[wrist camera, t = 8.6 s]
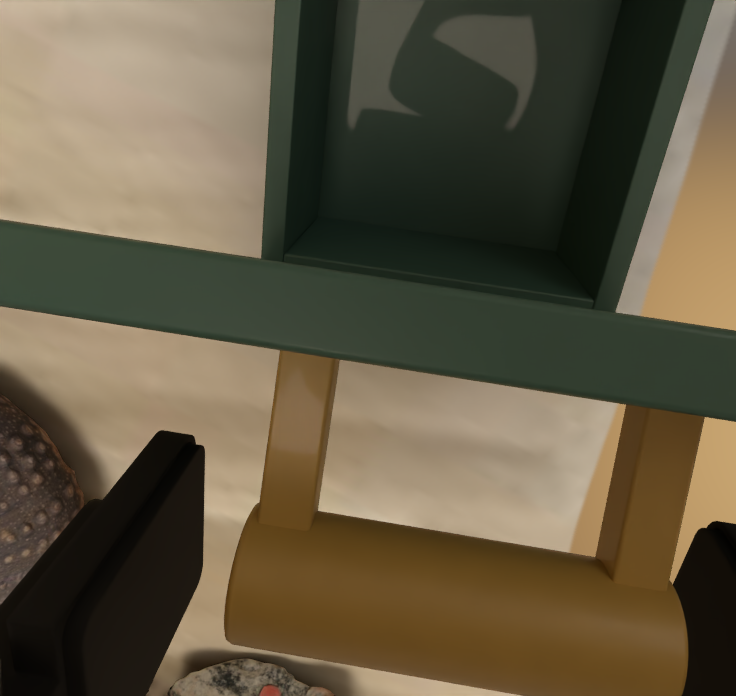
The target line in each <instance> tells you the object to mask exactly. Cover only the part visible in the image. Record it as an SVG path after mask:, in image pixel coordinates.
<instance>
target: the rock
mask: <svg viewBox="0 0 736 696" xmlns="http://www.w3.org/2000/svg"><path fill="white" fill-rule="evenodd" d="M168 696H335V695H333V693H332V692H331V691H330V690H329V689H325V688H322V687H309V686H307V685H306V684H304V683H302V682H299V681H297V680H295V678H294V676H293V675H292V674H289V673H287V671H286V669H285V668H284V667H281V666H278V665H274V664H270V663H262V662H259V661H256V660H252V659H248V658H244V659H236V660H231V661H227V662H224V663H220V664H217V665H214V666H210V667H207V668H204V669H203V670H201V671H197V672H192V673H190V674H188V675H187V676H186V677H184V678H182V679H179V680H178V681H177V682H176V683H175V684H174V685H173V686H172V687H171V688H170V690H169V692H168Z"/></svg>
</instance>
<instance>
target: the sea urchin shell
mask: <svg viewBox="0 0 736 696" xmlns="http://www.w3.org/2000/svg"><path fill="white" fill-rule="evenodd" d="M83 506H84V498H83V492H82V491H81V489H80V488H79V486H78V484H77V481H76V478H75V471H73V470H72V469H71V468H70V467H68V466H67V465H66V464H65V463H64V461H63V460H62V458H61V456H60V454H59V452H58V449H57V447H56V446H55V445H54V444H53V443H52V441H51V440H50V439H49V437H48V435H47V433H46V432H45V431H44V430H43V429H41V428H40V427H39V426H38V425H37V423H36V422H35V421H34V420H33V419H32V418H30V417H29V416H27V415H26V414H25V413H24V412H22V411H21V410H20V409H19V408H18V407H17V406H15V405H14V404H13V403H12V402H11V401H10V400H9V399H8V398H6V397H4V396H2V395H0V605H1V604H2V603H3V601H4V600H5V599H6V598H7V597H8V595H9V594H10V593H11V592H12V591H13V589H14V588H15V587H16V586H17V585H18V583H19V582H20V581H21V580H22V579H23V578H24V576H25V575H26V574H27V573H28V572H29V570H30V569H31V568H32V567H33V566H34V564H35V563H36V562H37V561H38V560H39V559H40V557H41V556H42V555H43V554H44V553H45V551H46V550H47V549H48V548H49V547H50V545H51V544H52V543H53V542H54V541H55V539H56V538H57V537H58V536H59V535H60V534H61V532H62V531H63V530H64V529H65V528H66V526H67V525H68V524H69V523H70V522H71V520H72V519H73V518H74V517H75V516H76V515H77V513H78V512H79V511H80V510H81V509H82V507H83Z"/></svg>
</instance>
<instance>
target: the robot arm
mask: <svg viewBox="0 0 736 696" xmlns="http://www.w3.org/2000/svg"><path fill="white" fill-rule="evenodd" d="M204 475H205V449H204V446H202V445H196V442H195V438H194V436H193V435H188V434H182V433H176V432H170V431H164V430H161V431H159V432H157V433H156V434H155V436H154V437H153V438H152V439H151V441H150V442H149V443H148V444H147V446H146V447H145V448H144V449H143V451H142V452H141V453H140V454H139V455H138V457H137V458H136V459H135V460H134V462H133V463H132V464H131V465H130V467H129V468H128V469H127V470H126V472H125V473H124V474H123V475H122V477H121V478H120V479H119V480H118V481H117V483H116V484H115V485H114V486H113V488H112V489H111V490H110V491H109V493H108V494H107V495H106V496H105V498H104V499H103V500H99V499H94V500H91V501H89V502H88V503H87V504H86V505H85V506H83V507H82V509H81V510H80V511H79V512H78V513H77V515H76V516H75V517H74V518H73V519H72V520H71V522H70V523H69V524H68V525H67V526H66V528H65V529H64V530H63V531H62V532H61V534H60V535H59V536H58V537H57V538H56V539H55V541H54V542H53V543H52V544H51V545H50V547H49V548H48V549H47V550H46V551H45V553H44V554H43V555H42V556H41V557H40V559H39V560H38V561H37V562H36V563H35V564H34V566H33V567H32V568H31V569H30V570H29V572H28V573H27V574H26V575H25V576H24V578H23V579H22V580H21V581H20V582H19V583H18V585H17V586H16V587H15V588H14V589H13V591H12V592H11V593H10V594H9V595H8V597H7V598H6V599H5V600H4V601H3V603H2V604H1V605H0V696H146V694H147V691H148V689H149V687H150V685H151V683H152V681H153V679H154V677H155V674H156V672H157V670H158V668H159V666H160V664H161V662H162V660H163V658H164V655H165V653H166V651H167V649H168V647H169V645H170V643H171V641H172V639H173V636H174V634H175V632H176V630H177V628H178V626H179V624H180V622H181V620H182V617H183V615H184V613H185V611H186V609H187V607H188V605H189V603H190V600H191V598H192V596H193V594H194V592H195V590H196V588H197V585H198V583H199V580H200V577H201V573H202V567H203V533H204ZM673 587H674V588H675V590H676V592H677V595H678V597H679V600H680V602H681V606H682V609H683V613H684V617H685V622H686V628H687V637H688V669H687V677H686V682H685V686H684V690H683V693H682V696H736V524H731V523H725V522H719V521H715V522H712V523H710V524H709V525H708V527H707V528H701V529H699V530H698V531H697V533H696V534H695V536H694V539H693V541H692V543H691V545H690V548H689V550H688V552H687V554H686V557H685V559H684V561H683V563H682V566H681V568H680V570H679V572H678V574H677V577H676V579H675V581H674V583H673Z"/></svg>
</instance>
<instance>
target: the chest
mask: <svg viewBox="0 0 736 696" xmlns="http://www.w3.org/2000/svg"><path fill="white" fill-rule="evenodd" d="M713 2H714V0H275V16H274V35H273V53H272V71H271V90H270V108H269V126H268V144H267V163H266V181H265V199H264V217H263V236H262V254H261V259H265V260H272V261H279V262H285V263H292V264H298V265H305V266H312V267H318V268H325V269H331V270H338V271H345V272H351V273H358V274H364V275H371V276H378V277H384V278H391V279H397V280H404V281H411V282H417V283H424V284H431V285H437V286H444V287H450V288H457V289H464V290H470V291H477V292H483V293H490V294H497V295H503V296H510V297H516V298H523V299H530V300H536V301H543V302H549V303H556V304H563V305H569V306H576V307H582V308H589V309H596V310H602V311H609V312H615V311H616V308H617V305H618V302H619V298H620V295H621V292H622V289H623V286H624V283H625V279H626V276H627V273H628V270H629V267H630V264H631V261H632V257H633V254H634V251H635V248H636V245H637V242H638V239H639V235H640V232H641V229H642V226H643V223H644V220H645V217H646V213H647V210H648V207H649V204H650V201H651V198H652V194H653V191H654V188H655V185H656V182H657V179H658V176H659V172H660V169H661V166H662V163H663V160H664V157H665V154H666V150H667V147H668V144H669V141H670V138H671V135H672V131H673V128H674V125H675V122H676V119H677V116H678V113H679V109H680V106H681V103H682V100H683V97H684V94H685V91H686V87H687V84H688V81H689V78H690V75H691V72H692V69H693V65H694V62H695V59H696V56H697V53H698V50H699V46H700V43H701V40H702V37H703V34H704V31H705V28H706V24H707V21H708V18H709V15H710V12H711V9H712V6H713Z"/></svg>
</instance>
